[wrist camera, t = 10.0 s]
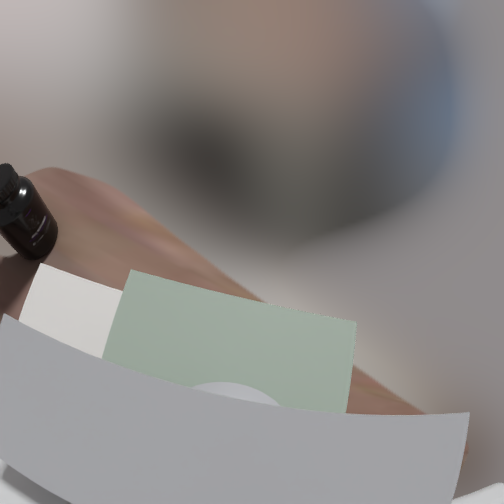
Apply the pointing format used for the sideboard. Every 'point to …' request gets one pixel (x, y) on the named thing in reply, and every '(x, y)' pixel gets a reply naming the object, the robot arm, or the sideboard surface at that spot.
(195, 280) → the sideboard surface
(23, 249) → the supplement bottle
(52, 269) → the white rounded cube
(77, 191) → the sideboard surface
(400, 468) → the t-shaped pedestal stand
